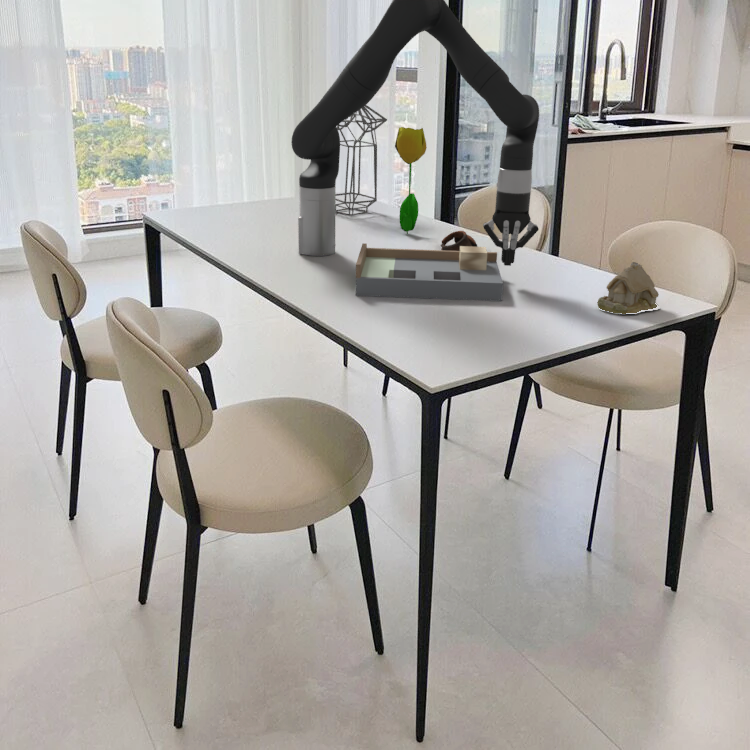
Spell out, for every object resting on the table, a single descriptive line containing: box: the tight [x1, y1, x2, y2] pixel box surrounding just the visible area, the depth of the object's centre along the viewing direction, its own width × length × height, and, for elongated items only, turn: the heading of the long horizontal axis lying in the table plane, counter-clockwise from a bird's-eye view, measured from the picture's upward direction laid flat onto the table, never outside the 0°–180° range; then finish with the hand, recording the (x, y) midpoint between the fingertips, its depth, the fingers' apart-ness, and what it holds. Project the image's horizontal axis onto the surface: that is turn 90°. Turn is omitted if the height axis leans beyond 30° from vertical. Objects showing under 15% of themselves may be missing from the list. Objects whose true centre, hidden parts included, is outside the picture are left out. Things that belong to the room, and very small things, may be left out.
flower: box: [394, 126, 427, 235], centre depth 238 cm, size 9×8×30 cm
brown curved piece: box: [440, 230, 479, 251], centre depth 218 cm, size 12×10×8 cm
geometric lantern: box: [335, 104, 388, 216], centre depth 265 cm, size 16×16×35 cm
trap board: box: [355, 243, 504, 302], centre depth 192 cm, size 32×20×7 cm, turn 87°
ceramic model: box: [597, 261, 659, 314], centre depth 180 cm, size 14×11×10 cm
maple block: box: [459, 246, 488, 270], centre depth 194 cm, size 6×6×4 cm
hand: (507, 264), depth 194 cm, fingers closed
